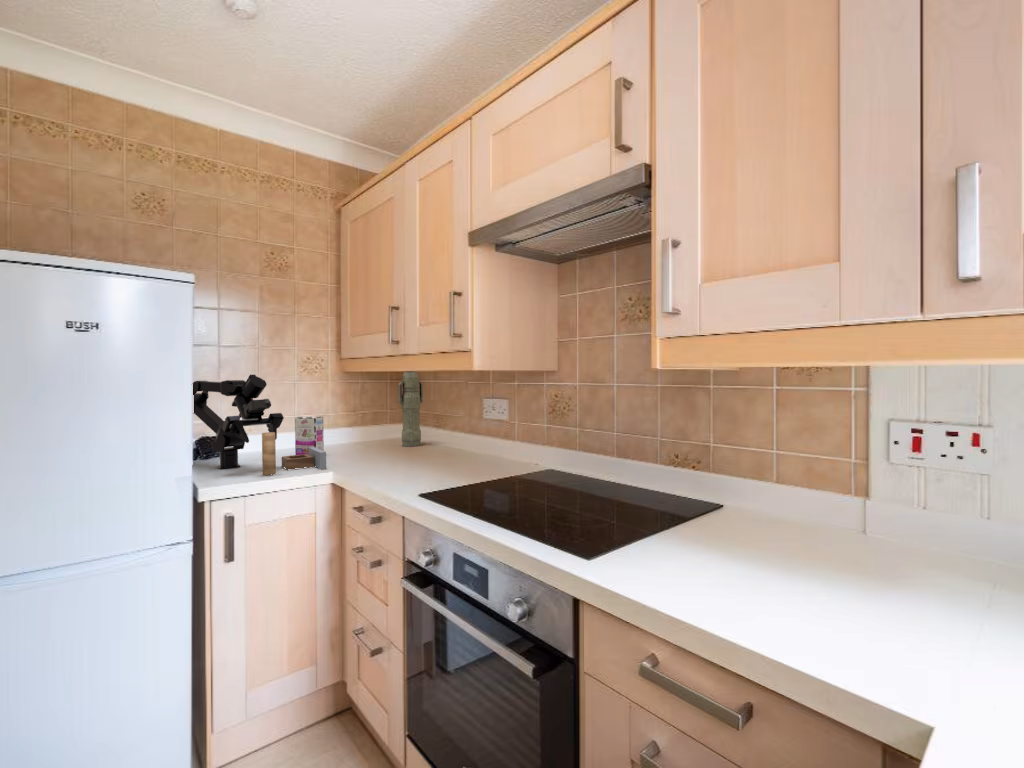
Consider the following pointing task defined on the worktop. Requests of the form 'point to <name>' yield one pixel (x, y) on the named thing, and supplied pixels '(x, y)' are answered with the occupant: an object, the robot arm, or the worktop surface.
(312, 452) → the backstop wall
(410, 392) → the green stone statue
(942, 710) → the worktop surface
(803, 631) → the worktop surface
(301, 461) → the socket block
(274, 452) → the dowel
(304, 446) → the candy bar box
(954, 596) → the worktop surface
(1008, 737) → the worktop surface
